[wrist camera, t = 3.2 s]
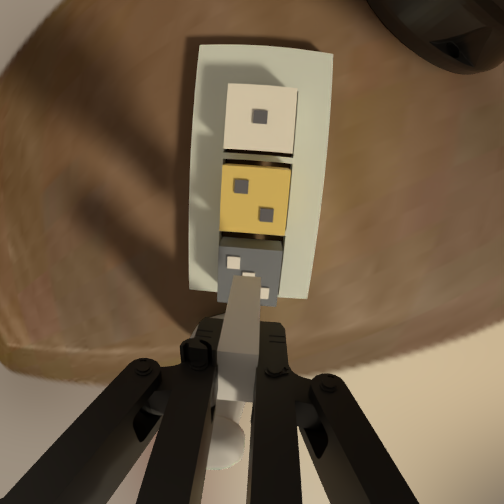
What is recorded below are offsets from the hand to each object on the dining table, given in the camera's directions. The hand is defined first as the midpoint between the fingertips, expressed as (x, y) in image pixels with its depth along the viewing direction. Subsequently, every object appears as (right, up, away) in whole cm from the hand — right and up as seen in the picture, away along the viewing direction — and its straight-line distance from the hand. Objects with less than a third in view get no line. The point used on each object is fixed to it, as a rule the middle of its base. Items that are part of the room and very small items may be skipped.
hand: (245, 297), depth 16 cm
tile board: (+1, +8, +4) cm, 9 cm away
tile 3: (0, +2, +4) cm, 5 cm away
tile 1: (+1, +11, +1) cm, 11 cm away
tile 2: (+1, +6, +3) cm, 7 cm away
